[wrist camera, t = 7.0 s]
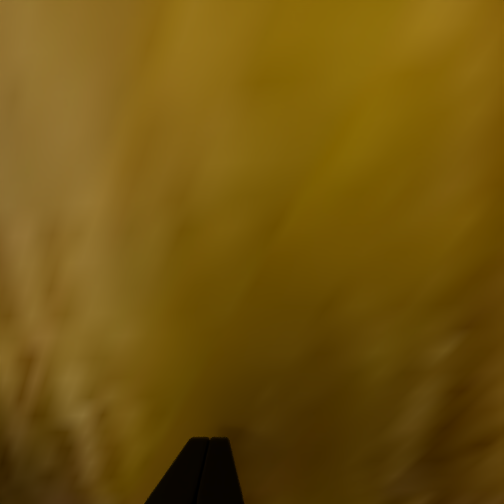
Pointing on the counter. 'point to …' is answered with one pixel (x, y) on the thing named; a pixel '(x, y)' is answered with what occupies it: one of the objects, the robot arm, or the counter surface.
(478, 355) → the counter surface
